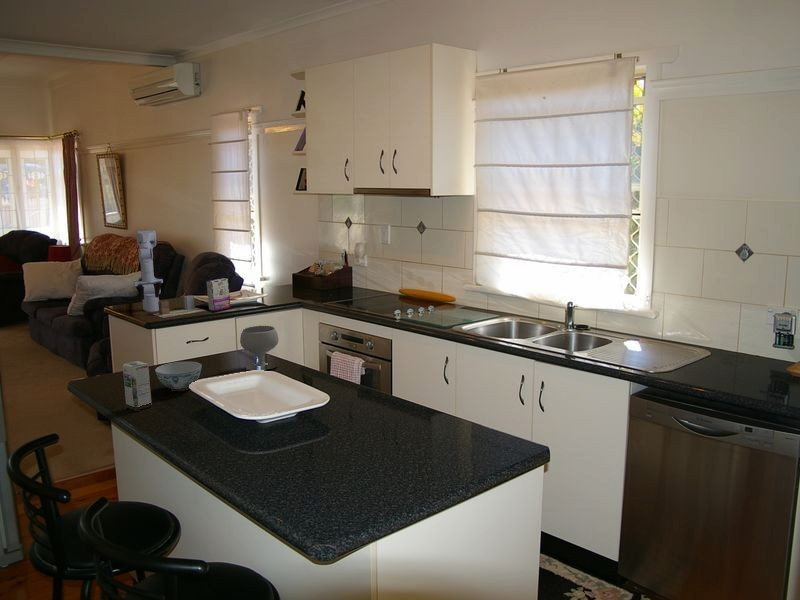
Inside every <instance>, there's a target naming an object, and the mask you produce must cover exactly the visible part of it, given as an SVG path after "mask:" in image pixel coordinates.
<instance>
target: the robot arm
mask: <svg viewBox="0 0 800 600" xmlns="http://www.w3.org/2000/svg"><path fill="white" fill-rule="evenodd" d="M135 233H136V234H135V235H136V236H135V237H136V242H137V246H138V247H139V250H138V258H139V263H140V270H141V280H140V281H134V282H133V287H135V289H136V290H137V292H138V293H139V296H140V299H141V300H142V308H143V311H145V312H150V313H151V312H159V306H158V301H160V299H159V298H160V297H159V295H161V292H162V291H161V288H162V285H163V283H164V279H163V278H156V277H155V275H154V261H153V259H154V254H153V249H154V248H155V247H157V233H156V230H155V229H153V230H150V229H149V230H136V232H135Z"/></svg>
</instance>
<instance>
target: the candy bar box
mask: <svg viewBox="0 0 800 600" xmlns="http://www.w3.org/2000/svg"><path fill="white" fill-rule="evenodd" d="M206 290H207V291H206V292H207V299H208V300H207V301H208V310H210V311H218V310H219V311H220V310H223V309H229V308H231V298H230V296H231V295H230V287H229V278H225V277H224V278H218V279H213V280H206Z"/></svg>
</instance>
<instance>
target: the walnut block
mask: <svg viewBox="0 0 800 600" xmlns="http://www.w3.org/2000/svg"><path fill="white" fill-rule="evenodd" d="M158 306H159V311H158V313H159V315H162V316H164V315H170V311H171V310H170V301H169V300H159V301H158Z"/></svg>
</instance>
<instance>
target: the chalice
mask: <svg viewBox="0 0 800 600" xmlns="http://www.w3.org/2000/svg"><path fill="white" fill-rule="evenodd" d="M239 342H240V346H241V347H242V349H244V350H245V351H247V352H249V353H251V354H254V355H255V356H256V357H257V362H256V363H257V364H254V363H253V364H254V366H265V365H268V363H265V362H266V361H264V357H265V355H266V354H267V353H268V352H270V351H272V350H273V349H275V348H276V346H277V345H278V344H279V334H278V331H277V330H276V328H275V327H274V326H271V325H255V326H249V327H245V328H243V329H242V331H241V334H240V339H239Z"/></svg>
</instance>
